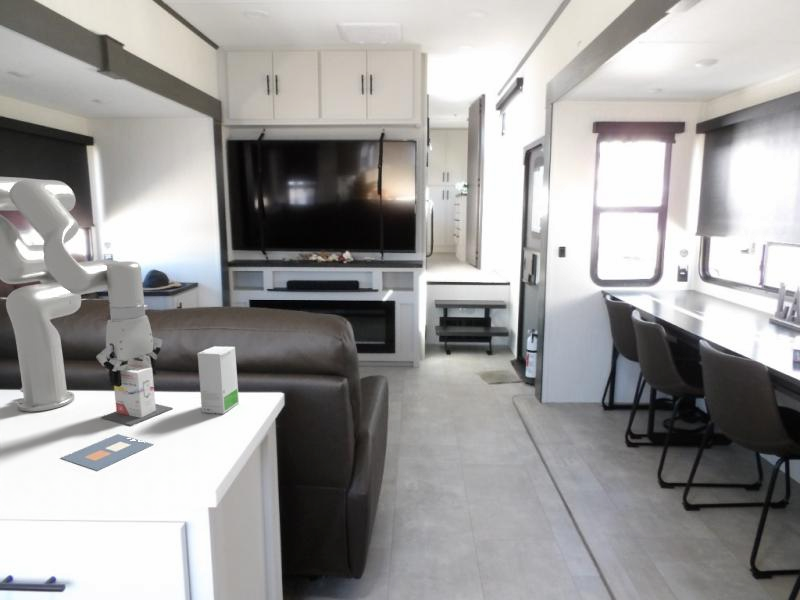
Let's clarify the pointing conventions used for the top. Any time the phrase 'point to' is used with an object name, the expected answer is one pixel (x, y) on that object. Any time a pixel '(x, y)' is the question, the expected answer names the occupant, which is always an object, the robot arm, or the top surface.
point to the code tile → (106, 452)
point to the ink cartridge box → (136, 388)
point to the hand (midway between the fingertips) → (134, 379)
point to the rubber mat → (134, 420)
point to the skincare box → (218, 379)
